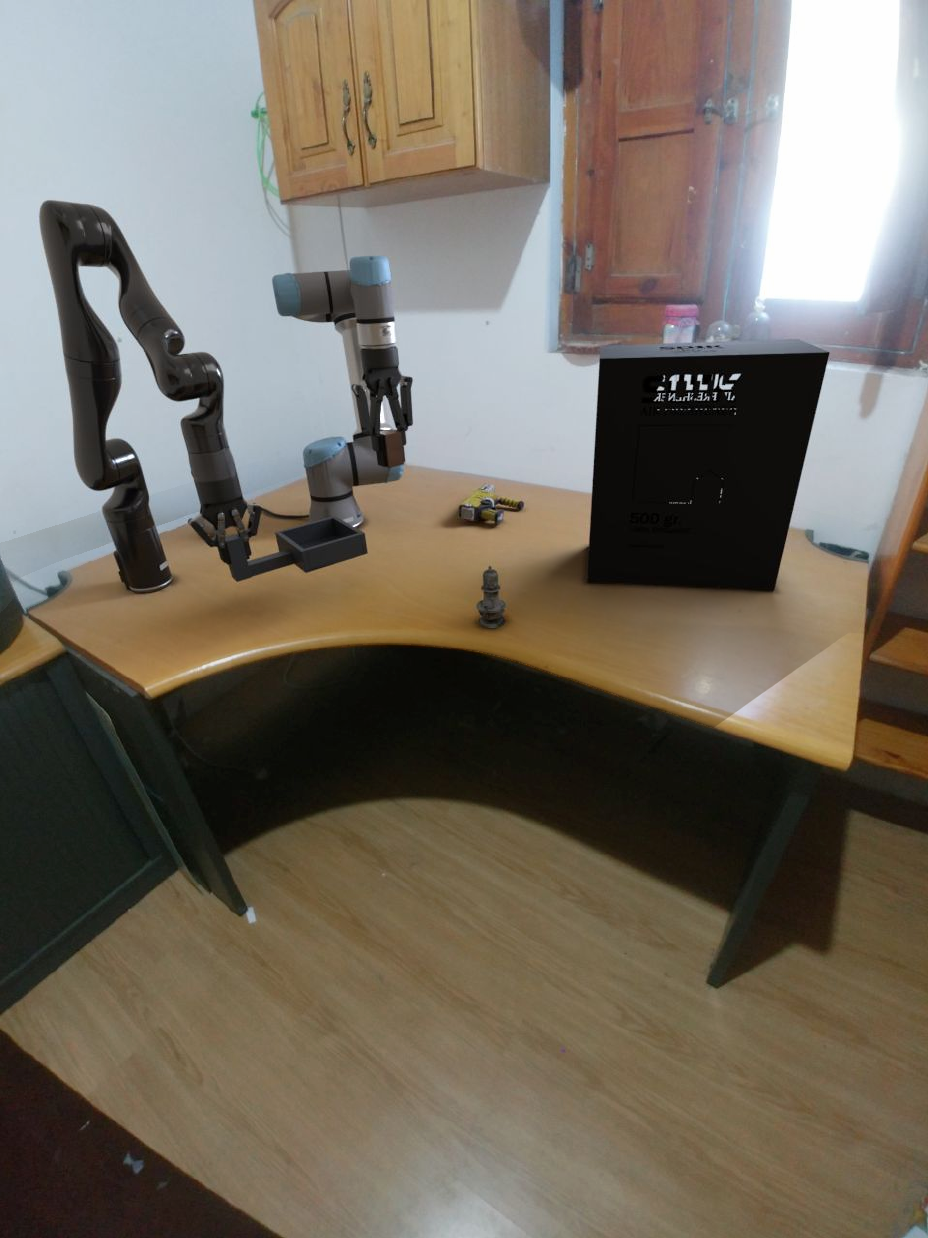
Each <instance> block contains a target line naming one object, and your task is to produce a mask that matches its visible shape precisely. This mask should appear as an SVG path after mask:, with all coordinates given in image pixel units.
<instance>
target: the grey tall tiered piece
mask: <svg viewBox="0 0 928 1238" xmlns="http://www.w3.org/2000/svg"><path fill="white" fill-rule="evenodd" d="M492 568H493V567H492V566H491V565H489V566H488V567H487V569H485V570H484V571H483V573H482V583H483V584H482V586H481V588H480V589H481V591H482V599H481V600H479V601H478V602H477V603H476V606H475V607H476V609H477V612H478V614H479V615H480V617H479V619H478V625H480V626H481V627H484V628H488V629H495V628H500V627H502V626H504V625H505V623H506V618H505V617H504V613H505V611H506V608H507V603H506V601H505V600H503V599H501V598H500V590H501V585H500V584H499V573H498V571H497V570H495V569H492Z"/></svg>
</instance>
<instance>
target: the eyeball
mask: <svg viewBox="0 0 928 1238" xmlns="http://www.w3.org/2000/svg"><path fill="white" fill-rule="evenodd" d="M203 523H204V527H203V530H204V531H205V532H206V533H207V534H208V535H209V536H210V537H212V536H214V537H215V533H214V529H213V525H212V524H211V523H209V522H208V521H207V520H205V519H204V520H203Z"/></svg>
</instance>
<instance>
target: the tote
mask: <svg viewBox="0 0 928 1238" xmlns="http://www.w3.org/2000/svg"><path fill="white" fill-rule="evenodd" d="M274 534H275V540H276V543H277V548H278V551H277V552H274V553H270V554H266V555H263V556H260V557H257V558H254V559H249V560H247V557H246V553H245V549H244V545H243V541H242V537H240V536H239V535H238V533H237V532H236V533H233V534H229V535H226V536H225V542H226V547H227V549H228V553H229V557H230V560H231V564H230V565H228V568H229V571H230V576H231V578H232V579H233V580H234V581H235V582H236V583H238V582H241V581H246V580H248V579H251V578H253V577H255V576H258V575H262V574H265V573H270V572H272V571H275V570H279V569H282V568H286V567H289V566H292V565H295V566H296V567H297V568H298V569H300V570H301V571H302V572H303V573H305V574H307V573H311V572H314V571H317V570H320V569H324V568H326V567H329V566H330V567H331V566H333V565H335V564H340V563H342V562H346V561H349V560H352V559H355V558H359V557H361V556H364V555H367V554H368V553H369V552H368V545H367V537H366V533H365V532H364V531H362V530H360V529H359V528H355V527H353V526H352V525H350V524H348V523H346V522H345V521H343V520H341V519H340V518H338V517H336V516H332V517H329V518H325V519H322V520H318V521H314V522H311V523H309V522H307V523H303V524H300V525H296V526H292V527H289V528H285V529H281V530H278V531H275V532H274Z"/></svg>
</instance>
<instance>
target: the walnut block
mask: <svg viewBox="0 0 928 1238" xmlns="http://www.w3.org/2000/svg"><path fill="white" fill-rule="evenodd" d="M380 435H383V436H384V444H385V453H386V461H387V468H392V467H396V466H400V465H404V466H405V462H404V455H403V446H402V436H401V432H400V431H397V429H395V430H393V429H389V430H384V431H380Z"/></svg>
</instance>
